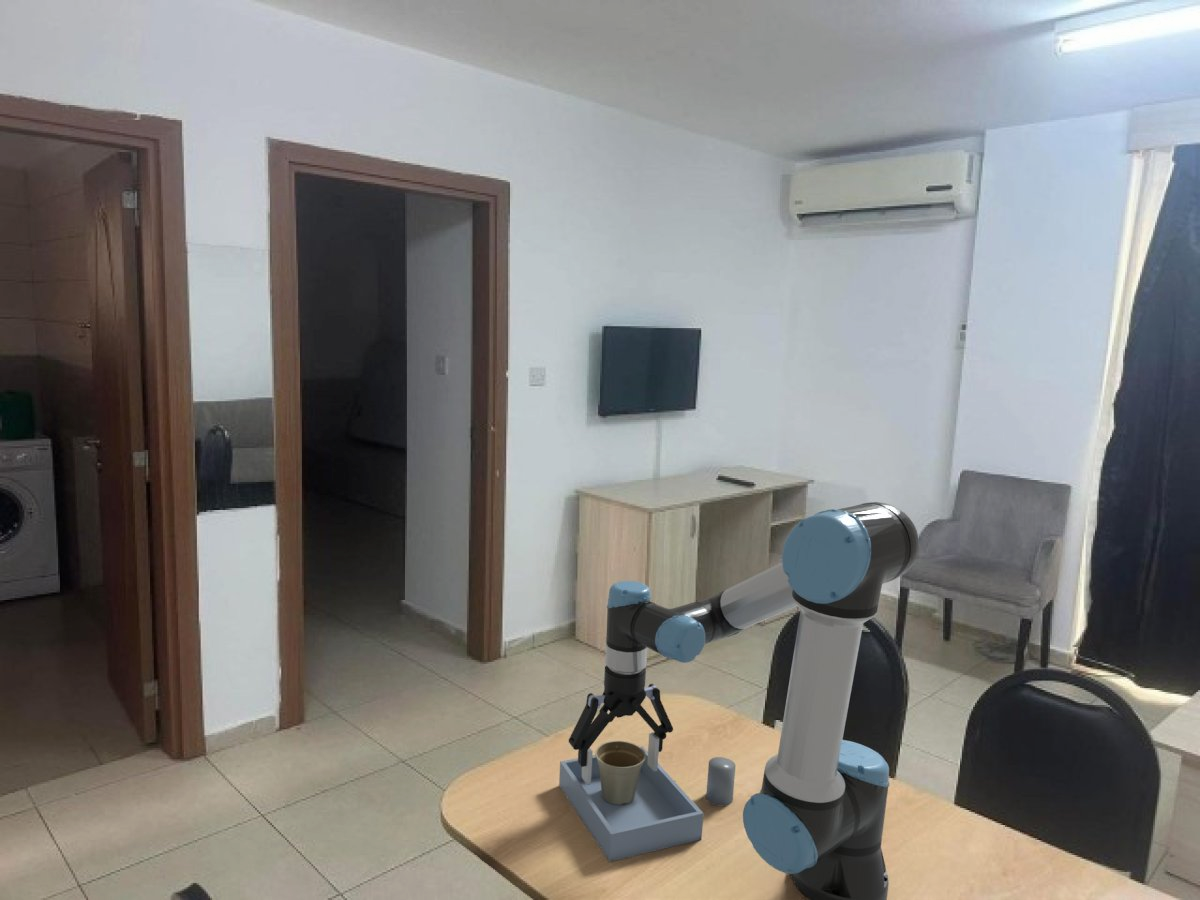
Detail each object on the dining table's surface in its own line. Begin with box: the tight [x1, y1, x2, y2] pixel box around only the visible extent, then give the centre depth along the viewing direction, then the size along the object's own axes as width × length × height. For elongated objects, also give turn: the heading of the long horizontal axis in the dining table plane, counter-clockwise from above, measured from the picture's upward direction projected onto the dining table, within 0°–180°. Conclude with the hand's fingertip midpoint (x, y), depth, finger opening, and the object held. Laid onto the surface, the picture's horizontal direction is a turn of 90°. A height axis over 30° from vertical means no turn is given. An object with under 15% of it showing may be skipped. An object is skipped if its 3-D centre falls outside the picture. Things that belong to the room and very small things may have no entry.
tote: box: [558, 746, 704, 862], centre depth 150 cm, size 24×18×5 cm
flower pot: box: [594, 740, 646, 805], centre depth 154 cm, size 9×9×9 cm
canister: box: [705, 756, 736, 807], centre depth 156 cm, size 5×5×7 cm
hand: (619, 774), depth 154 cm, fingers open, 13 cm apart
